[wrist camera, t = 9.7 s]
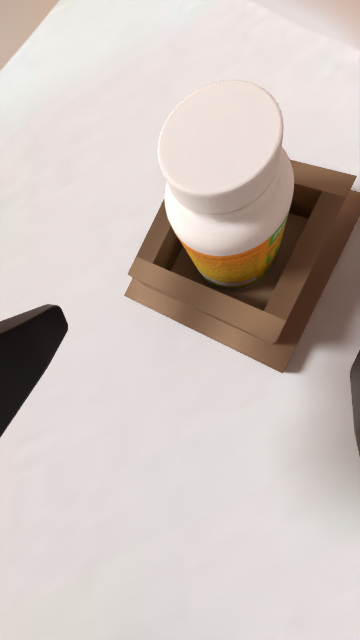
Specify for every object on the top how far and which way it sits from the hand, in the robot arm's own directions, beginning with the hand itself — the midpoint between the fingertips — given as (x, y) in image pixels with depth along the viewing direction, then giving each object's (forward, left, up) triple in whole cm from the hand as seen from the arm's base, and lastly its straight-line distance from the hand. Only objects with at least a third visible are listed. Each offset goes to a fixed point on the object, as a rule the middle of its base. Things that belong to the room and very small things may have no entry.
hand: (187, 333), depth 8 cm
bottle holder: (+2, -6, -10) cm, 12 cm away
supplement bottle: (+2, -6, -10) cm, 12 cm away
